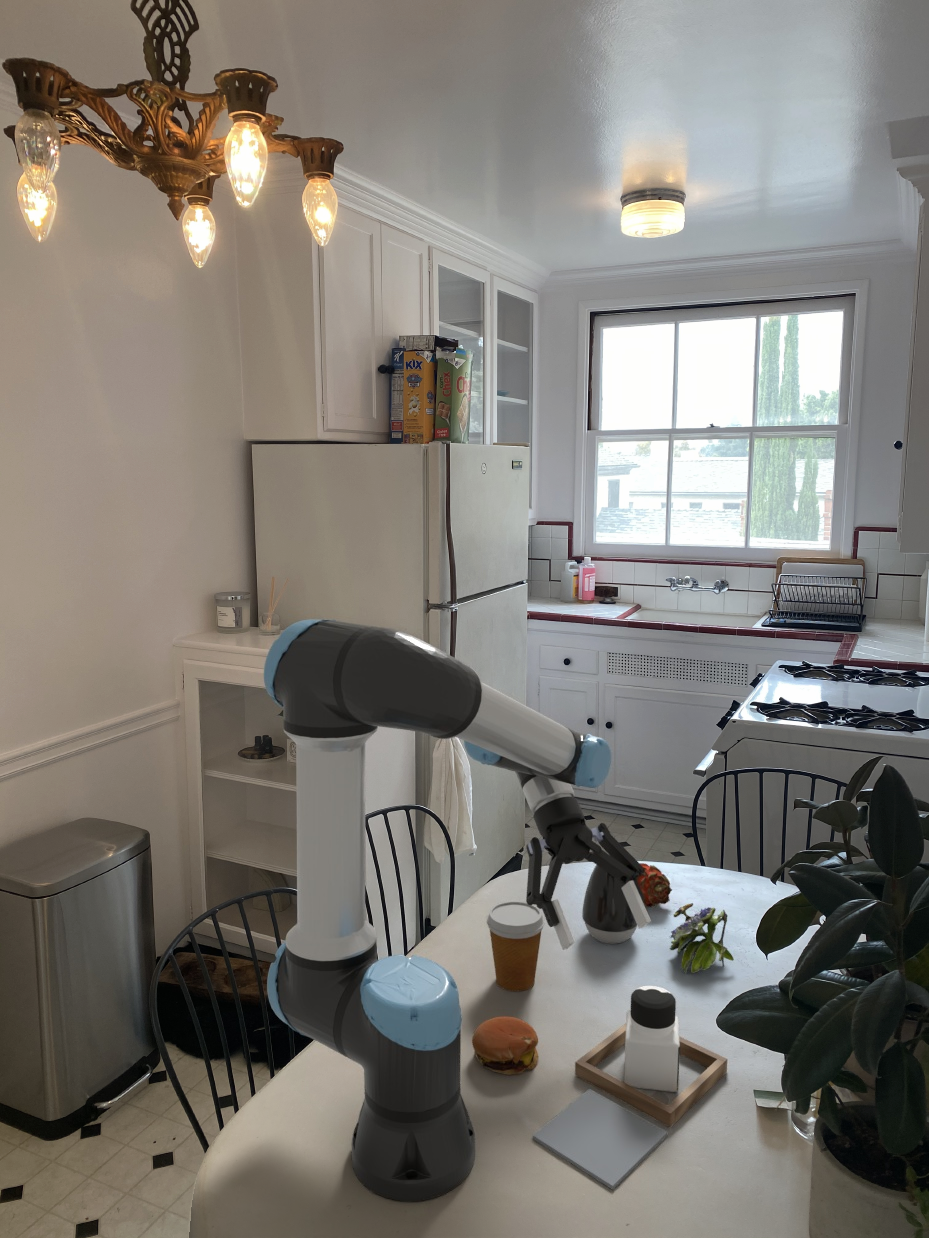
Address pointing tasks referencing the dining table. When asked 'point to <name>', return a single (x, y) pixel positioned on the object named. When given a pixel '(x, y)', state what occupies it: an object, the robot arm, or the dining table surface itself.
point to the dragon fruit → (654, 886)
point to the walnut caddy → (640, 1100)
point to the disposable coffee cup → (515, 943)
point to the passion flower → (706, 946)
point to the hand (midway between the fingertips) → (607, 935)
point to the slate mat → (600, 1137)
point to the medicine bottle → (652, 1040)
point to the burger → (506, 1045)
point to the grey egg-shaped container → (607, 909)
